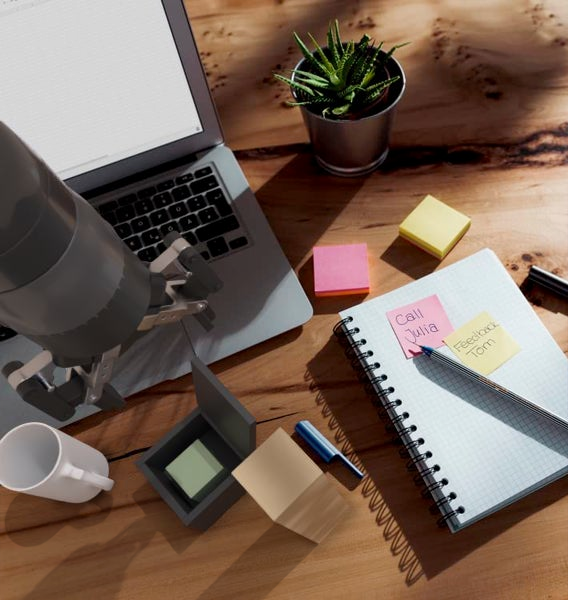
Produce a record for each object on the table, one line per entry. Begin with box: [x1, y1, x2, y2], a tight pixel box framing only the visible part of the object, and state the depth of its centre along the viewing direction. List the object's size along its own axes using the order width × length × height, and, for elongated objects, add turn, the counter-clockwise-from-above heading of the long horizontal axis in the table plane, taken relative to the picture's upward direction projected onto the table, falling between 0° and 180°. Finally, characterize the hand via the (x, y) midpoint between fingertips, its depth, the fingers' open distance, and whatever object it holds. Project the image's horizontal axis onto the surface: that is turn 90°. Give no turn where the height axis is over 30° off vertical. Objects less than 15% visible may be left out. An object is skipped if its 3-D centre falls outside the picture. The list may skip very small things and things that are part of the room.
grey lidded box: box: [133, 405, 248, 532], centre depth 73 cm, size 9×9×7 cm
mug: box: [0, 421, 115, 504], centre depth 70 cm, size 10×7×12 cm, turn 71°
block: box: [165, 439, 232, 502], centre depth 73 cm, size 4×4×4 cm
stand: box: [231, 426, 352, 545], centre depth 62 cm, size 5×5×26 cm
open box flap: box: [189, 355, 257, 458], centre depth 67 cm, size 10×9×1 cm
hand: (160, 359), depth 51 cm, fingers open, 8 cm apart
